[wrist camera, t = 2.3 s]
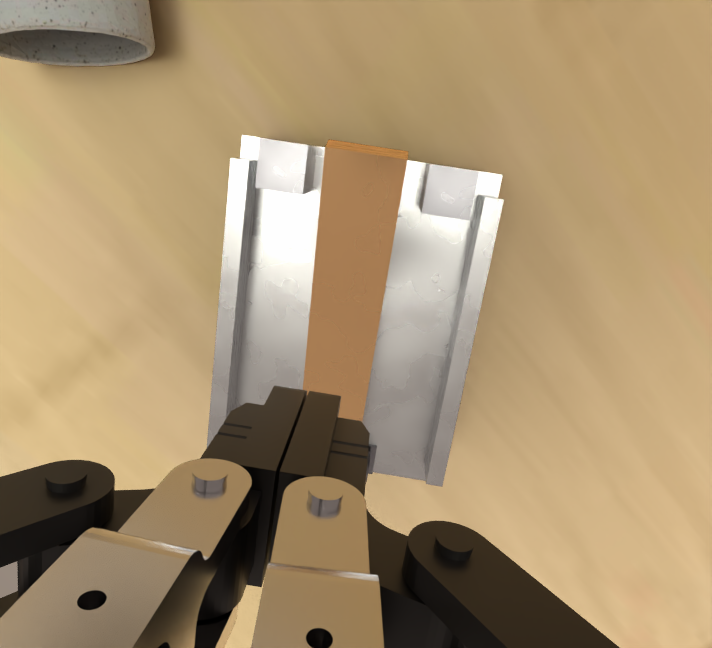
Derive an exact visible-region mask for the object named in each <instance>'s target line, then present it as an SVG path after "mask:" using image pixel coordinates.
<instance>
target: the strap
mask: <svg viewBox="0 0 712 648" xmlns="http://www.w3.org/2000/svg"><path fill="white" fill-rule="evenodd" d="M407 160H408V151H401V150H395V149H388V148H382V147H375V146H369V145H362V144H355V143H349V142H342V141H336V140H328V142H327V144H326V146H325V153H324V163H323V174H322V185H321V196H320V207H319V218H318V228H317V239H316V250H315V261H314V272H313V283H312V293H311V304H310V315H309V326H308V337H307V347H306V358H305V369H304V380H303V390H307V395H308V393H309V391H314V392H320V393H326V394H332V395H339V396H341V402H340V409H339V416H338V417H340V418H346V419H352V420H358V421H363V415H364V409H365V403H366V398H367V392H368V386H369V380H370V374H371V369H372V363H373V357H374V351H375V345H376V340H377V334H378V328H379V322H380V316H381V311H382V305H383V299H384V293H385V287H386V282H387V276H388V270H389V264H390V258H391V253H392V247H393V241H394V235H395V229H396V224H397V218H398V212H399V206H400V200H401V195H402V189H403V183H404V177H405V171H406V166H407ZM370 454H371V452H368V458H367V471H366V481H367V476H368V470H369V463H370ZM365 484H366V482H365Z"/></svg>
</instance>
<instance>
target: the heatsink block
mask: <svg viewBox="0 0 712 648" xmlns="http://www.w3.org/2000/svg"><path fill="white" fill-rule="evenodd" d="M324 153H325V147H319V146H312V145H306V144H299V143H293V142H286V141H280V140H273V139H266V138H260V137H253V136H246V135H242V142H241V153H240V158H231V159H230V171H229V184H228V196H227V208H226V220H225V232H224V244H223V257H222V269H221V281H220V293H219V305H218V318H217V330H216V342H215V354H214V366H213V378H212V391H211V403H210V415H209V427H208V439H207V447H208V446H209V444H210V443H211V441H212V440H213V438H214V437H215V435H216V434H217V433H218V430H219V429H220V427H221V426H222V425H223V424H224V421H225V420H226V418H227V417H228V415H229V413H230V412H231V411H232V410H234V409H236V408H237V407H239V406H241V405H243V404H245V403H253V404H259V405H264V404H265V402H266V400H267V398H268V396H269V394H270V393H271V391H272V389H273V387H274V386H275V385H277V386H283V387H289V388H295V389H301V390H303V380H304V369H305V358H306V347H307V337H308V326H309V315H310V304H311V293H312V283H313V272H314V261H315V250H316V239H317V228H318V218H319V207H320V196H321V185H322V174H323V163H324ZM502 176H503V175H501V174H495V173H488V172H482V171H475V170H469V169H462V168H456V167H449V166H443V165H436V164H430V163H423V162H417V161H410V160H407V166H406V171H405V177H404V183H403V189H402V195H401V200H400V206H399V212H398V218H397V224H396V229H395V235H394V241H393V247H392V253H391V258H390V264H389V270H388V276H387V282H386V287H385V293H384V299H383V305H382V311H381V316H380V322H379V328H378V334H377V340H376V345H375V351H374V357H373V363H372V369H371V374H370V380H369V386H368V392H367V398H366V403H365V409H364V415H363V421H362V423H363V424H364V426H365V427H366V429H367V430H368V432H369V433H370V436H369V447H368V452H371V454H370V463H369V470H368V473H369V474H372V472H375V473H381V474H387V475H393V476H399V477H405V478H411V479H418V480H424V481H426V484H430V485H436V486H442V485H443V480H444V476H445V471H446V467H447V462H448V457H449V453H450V448H451V443H452V439H453V434H454V429H455V425H456V420H457V415H458V411H459V406H460V401H461V397H462V392H463V387H464V383H465V378H466V374H467V369H468V364H469V360H470V355H471V350H472V346H473V341H474V336H475V332H476V327H477V322H478V318H479V313H480V308H481V304H482V299H483V295H484V290H485V285H486V281H487V276H488V271H489V267H490V262H491V257H492V253H493V248H494V243H495V239H496V234H497V229H498V225H499V220H500V215H501V211H502V206H503V202H504V200H503V199H500V198H498V195H499V190H500V186H501V181H502Z"/></svg>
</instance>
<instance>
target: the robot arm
mask: <svg viewBox="0 0 712 648" xmlns="http://www.w3.org/2000/svg"><path fill="white" fill-rule="evenodd" d="M340 402H341V396H339V395H332V394H326V393H320V392H314V391H309V393H308V395H307V390H301V389H295V388H289V387H283V386H277V385H275V386H274V387H273V389H272V391H271V393H270V394H269V396H268V398H267V400H266V402H265V404H264V405H259V404H253V403H245V404H243V405H241V406H239V407H237V408H236V409H234V410H232V411H231V412H230V413H229V415H228V417H227V418H226V420H225V421H224V424H223V425H222V426H221V427H220V429H219V430H218V433H217V434H216V435H215V437H214V438H213V440H212V441H211V443H210V444H209V446H208V447H207V449H206V451H205V452H204V454H203V455H202V457H201V458H200V459H197V460H192V461H188V462H185V463H183V464H180V465H178V466H177V467H175V468H174V469H173V470H172V471H170V473H169V474H168V475H167V476H166V477H165V478H164V479H163V481H162V482H161V483H160V484H159V485H158V486H157V487H156V488H155V489H145V490H116V491H114V485H115V479H114V475H113V473H112V472H111V470H110V469H108V468H107V467H105V466H103V465H101V464H99V463H95V462H91V461H84V460H65V461H58V462H53V463H49V464H45V465H41V466H38V467H34V468H31V469H27V470H24V471H20V472H16V473H13V474H9V475H6V476H2V477H0V567H3V566H5V565H8V564H11V563H13V562H16V561H17V564H18V591H17V592H15V593H12V594H10V595H7V596H5V597H2V598H0V648H224V647H225V645H226V643H227V640H228V638H229V636H230V634H231V631H232V629H233V627H234V625H235V622H236V619H237V611H238V603H239V602H240V600H241V598H242V596H243V593H244V590H245V587H246V585H252V586H258V587H262V584H263V580H264V584H263V589H262V594H261V600H260V605H259V610H258V615H257V620H256V625H255V630H254V635H253V640H252V645H251V648H619V647H618V646H617V645H616V644H614V643H613V642H612V641H611V640H610V639H608V638H607V637H606V636H605V635H603V634H602V633H601V632H600V631H598V630H597V629H596V628H595V627H594V626H592V625H591V624H590V623H589V622H587V621H586V620H585V619H584V618H582V617H581V616H580V615H579V614H578V613H576V612H575V611H574V610H573V609H571V608H570V607H569V606H568V605H566V604H565V603H564V602H563V601H562V600H560V599H559V598H558V597H557V596H555V595H554V594H553V593H552V592H551V591H549V590H548V589H547V588H546V587H544V586H543V585H542V584H541V583H539V582H538V581H537V580H536V579H535V578H533V577H532V576H531V575H530V574H528V573H527V572H526V571H525V570H523V569H522V568H521V567H520V566H519V565H517V564H516V563H515V562H514V561H512V560H511V559H510V558H509V557H507V556H506V555H505V554H504V553H503V552H501V551H500V550H499V549H498V548H496V547H495V546H494V545H493V544H491V543H490V542H489V541H488V540H487V539H485V538H484V537H483V536H481V535H480V534H479V533H477V532H475V531H473V530H472V529H470V528H467V527H465V526H462V525H459V524H456V523H452V522H446V521H429V522H425V523H422V524H419V525H417V526H416V527H415V528H413V529H412V531H411V532H410V534H409V536H406V535H403V534H401V533H398V532H396V531H393V530H391V529H389V528H387V527H385V526H384V525H382V524H381V523H379V522H378V521H377V520H376V519H374V518H373V517H372V516H371V514H370V513H369V512H368V510H367V508H366V501H365V498H364V494H365V482H366V471H367V458H368V447H369V436H370V433H369V432H368V430H367V429H366V427H365V426H364V424H363V423H362V421H358V420H352V419H346V418H340V417H338V416H339V409H340ZM264 577H265V579H264Z"/></svg>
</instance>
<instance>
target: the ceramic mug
mask: <svg viewBox="0 0 712 648" xmlns="http://www.w3.org/2000/svg"><path fill="white" fill-rule="evenodd" d="M154 49H155V41H154V34H153V28H152V21H151V13H150V6H149V0H0V56H2V57H6V58H10V59H15V60H21V61H27V62H33V63H42V64H49V65H64V66H109V65H119V64H126V63H133V62H137V61H140V60H144V59H146V58H148V57H150V56H151V55H152V54H153V52H154Z"/></svg>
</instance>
